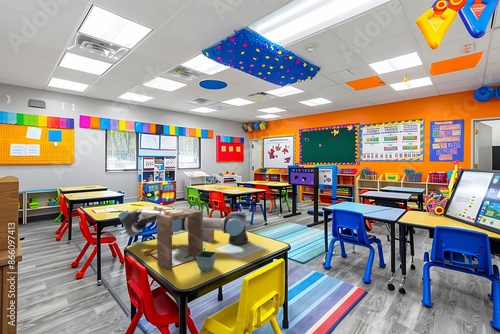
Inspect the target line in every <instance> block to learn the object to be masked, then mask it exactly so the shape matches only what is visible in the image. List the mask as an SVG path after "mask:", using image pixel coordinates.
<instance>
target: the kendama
mask: <svg viewBox="0 0 500 334" xmlns="http://www.w3.org/2000/svg"><path fill="white" fill-rule="evenodd" d="M154 251H157V246H155V247H152V248H150V249H147V250H145V251H144V252H143V254H144V256H145V257H148V256H149V255H151V253H153V252H154Z"/></svg>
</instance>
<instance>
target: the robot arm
mask: <svg viewBox="0 0 500 334" xmlns="http://www.w3.org/2000/svg"><path fill="white" fill-rule="evenodd" d="M160 213H163V212H159V211H155V210H143V209H140V208H139V209H135V210H132V211H129V210H128V209H126V210H124V211H121V212H120V213H119V214H118V218H119V220H120V222H121V223H122V225H123V226H124V227H125V229H126V235H127V236H128V237H130V238H131V237H135V236H137V235H138V234H139V233H140V232H141V231H143V230H144V229H145V228H146V227H147V224H149V223H150V224H152V223H154V222H157V218H156V214H160ZM203 230H214V231H219V232H220V231H221V232H223V234H228V235H229V236H228V244H230V245H234V246H242V245H243V244H244V245H247V244H248V243H249V237H248V236H249V235H248V234H247V213H246V212H245V211H231V212H230V215H229V216H227V215H226V216H224V217H223V218H222V217H220V218H219V217H206V216H205V217H203ZM180 231H181V232H182V231H183V232H185V231H186V232H188V217H187V218H182V219H178V220H173V221H172V233H177V232H178V233H179V232H180ZM246 243H247V244H246Z"/></svg>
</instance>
